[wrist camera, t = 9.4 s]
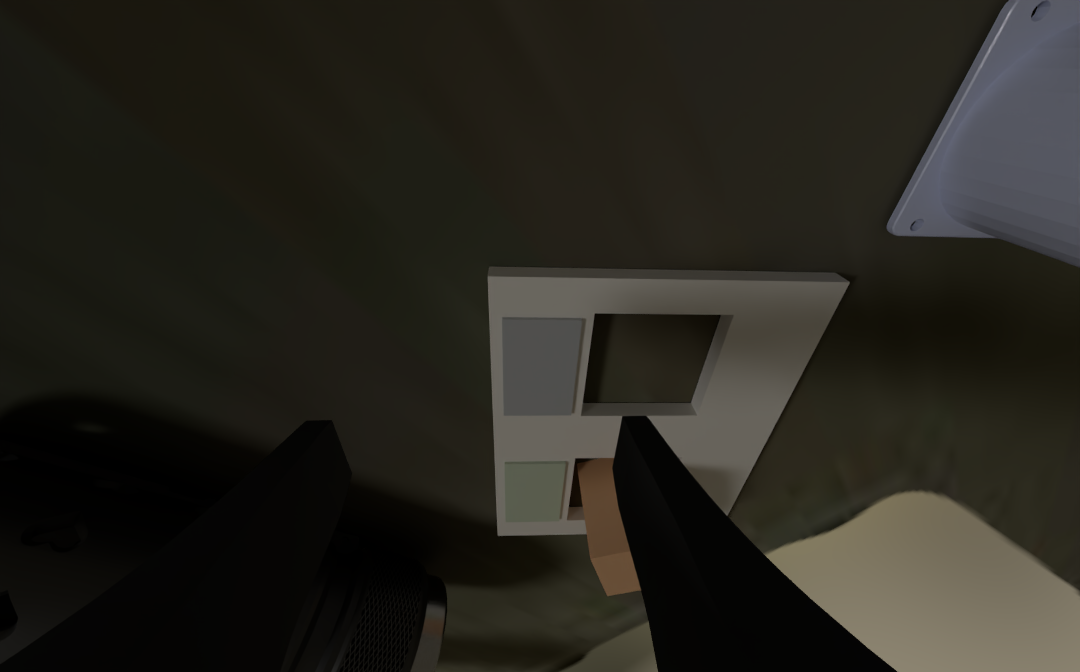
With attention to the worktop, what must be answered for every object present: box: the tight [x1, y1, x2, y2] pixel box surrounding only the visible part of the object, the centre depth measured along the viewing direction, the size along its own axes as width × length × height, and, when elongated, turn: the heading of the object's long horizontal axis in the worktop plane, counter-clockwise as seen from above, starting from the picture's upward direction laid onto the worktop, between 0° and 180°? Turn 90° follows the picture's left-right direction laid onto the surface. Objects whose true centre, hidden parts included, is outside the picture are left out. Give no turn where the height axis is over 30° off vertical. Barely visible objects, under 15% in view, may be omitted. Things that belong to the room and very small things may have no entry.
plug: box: [577, 458, 641, 596], centre depth 24 cm, size 4×5×6 cm
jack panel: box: [488, 267, 850, 536], centre depth 23 cm, size 16×20×1 cm
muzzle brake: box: [0, 439, 447, 672], centre depth 23 cm, size 10×28×10 cm, turn 55°
